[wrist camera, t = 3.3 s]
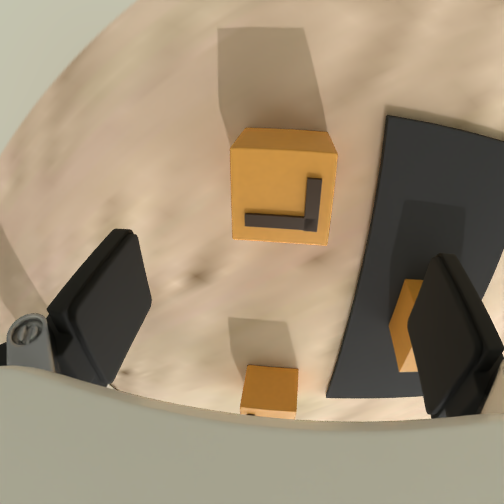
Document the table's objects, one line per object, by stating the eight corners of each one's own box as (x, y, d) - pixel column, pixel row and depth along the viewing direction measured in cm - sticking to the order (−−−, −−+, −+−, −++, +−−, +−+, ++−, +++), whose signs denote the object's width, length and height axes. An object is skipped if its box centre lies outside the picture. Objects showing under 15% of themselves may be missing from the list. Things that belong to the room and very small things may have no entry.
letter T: (247, 391, 33) (240, 431, 29) (247, 364, 31) (239, 408, 26) (293, 395, 33) (290, 436, 28) (298, 368, 30) (296, 413, 26)
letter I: (388, 325, 25) (399, 374, 21) (404, 278, 22) (422, 327, 18) (438, 326, 25) (454, 371, 20) (458, 281, 22) (482, 326, 18)
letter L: (245, 201, 21) (231, 241, 17) (245, 127, 19) (228, 148, 14) (321, 206, 21) (327, 248, 17) (327, 131, 18) (338, 154, 14)
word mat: (325, 394, 32) (326, 398, 32) (386, 114, 17) (388, 116, 17) (424, 392, 31) (425, 396, 31) (528, 149, 16) (532, 151, 15)
